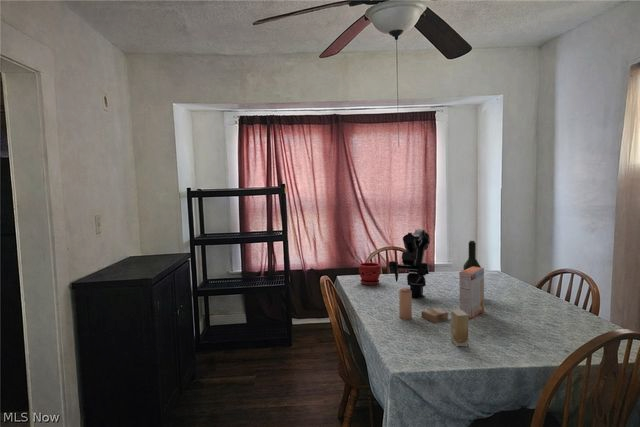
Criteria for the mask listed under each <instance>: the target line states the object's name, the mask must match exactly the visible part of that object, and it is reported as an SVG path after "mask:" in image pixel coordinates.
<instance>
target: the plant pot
mask: <svg viewBox="0 0 640 427" xmlns="http://www.w3.org/2000/svg"><path fill="white" fill-rule="evenodd" d="M381 267H382V266H381V264H380V263H377V262H361V263H359V265H358V272H359V277H360V280H359V281H360V283H361V284H363V285H365V286H375V285H377V284H379V283H380V280H379V278H380V275H381Z"/></svg>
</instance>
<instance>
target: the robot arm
mask: <svg viewBox="0 0 640 427" xmlns="http://www.w3.org/2000/svg"><path fill="white" fill-rule="evenodd" d="M402 242H403V246H404V248H405V251H402V252H401V260H402V261H401V263H402V264H400V263H399V262H398V261H395V260H391V261H388V268H389V271H390V272H391V273H392V274H394V277H395V282H398V281H399V275H400V274H399V269H401V270H403V269H404V270H408V274H407V275H406V280H407V286H409V289H410V290H411V291H412V298H413V299H421V298H424V297H426V295H424V294H423V292H424V287H426V286H427V283H426V282H427V281H426V278H425V276H426V275H429V274H430V268H429V263H426V262H424V257H425V251H426V250H427V249H428V248H429V245H430V244H431V237H430V234H429V233H427V232H426V229H423V228H422V229H421V228H420V229H419V228H417V229H414V232H413V233H412V232H407V234H404V236H403V237H402Z"/></svg>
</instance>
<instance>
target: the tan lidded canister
mask: <svg viewBox="0 0 640 427" xmlns="http://www.w3.org/2000/svg"><path fill="white" fill-rule="evenodd" d="M398 291H399V292H398V299H399V300H398V303H399V306H398V309H399V310H398V313H399V314H398V316H399V319H401V320H403V321H409V320H412V318H413V317H412V316H413V311H412V310H413V308H412V307H413V305H412V304H413V303H412V298H413V297H412V291H411V290H410V288H406V287H404V288H402V287H401V288H400V289H399V290H398Z"/></svg>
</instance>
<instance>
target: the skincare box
mask: <svg viewBox="0 0 640 427" xmlns="http://www.w3.org/2000/svg"><path fill="white" fill-rule="evenodd" d="M469 319H470V318H469V315H468V314H466V313H465V312H464V311H462V310H460V309H453V310H452V309H451V311H450V341H451V342H452V343H453V344H454V345H455V346H456V345H457V346H465V347H467V346H466V345H468V346H469V323H470V322H469ZM457 346H456V347H457Z"/></svg>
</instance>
